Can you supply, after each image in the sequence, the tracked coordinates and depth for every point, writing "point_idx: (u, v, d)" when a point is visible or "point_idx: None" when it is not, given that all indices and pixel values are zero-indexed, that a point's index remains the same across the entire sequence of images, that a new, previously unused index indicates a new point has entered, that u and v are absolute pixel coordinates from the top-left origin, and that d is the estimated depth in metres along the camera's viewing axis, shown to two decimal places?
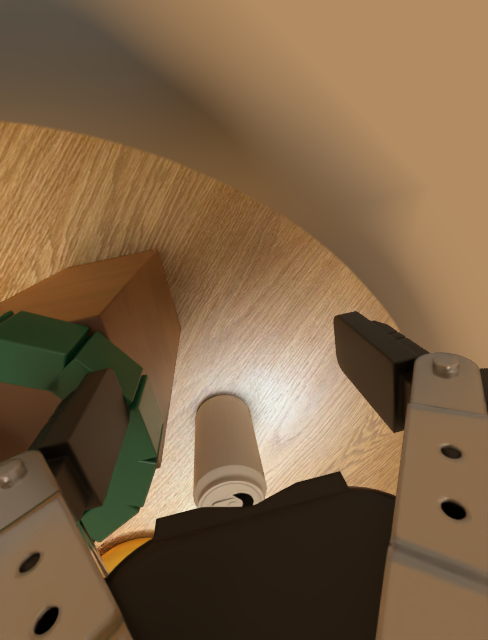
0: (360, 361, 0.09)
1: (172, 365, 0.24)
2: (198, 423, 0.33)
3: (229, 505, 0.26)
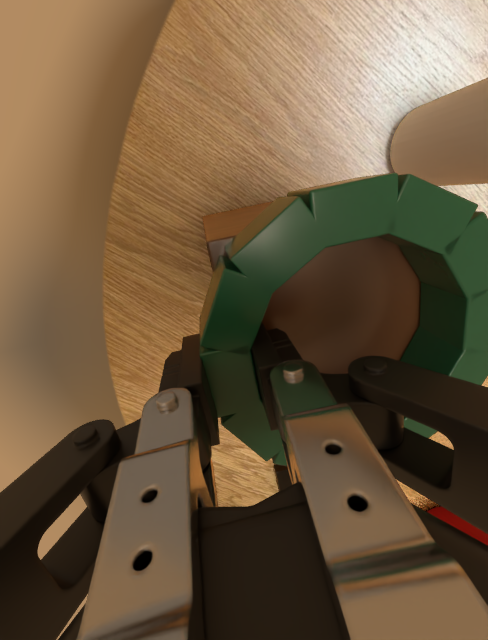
0: None
1: None
2: None
3: None
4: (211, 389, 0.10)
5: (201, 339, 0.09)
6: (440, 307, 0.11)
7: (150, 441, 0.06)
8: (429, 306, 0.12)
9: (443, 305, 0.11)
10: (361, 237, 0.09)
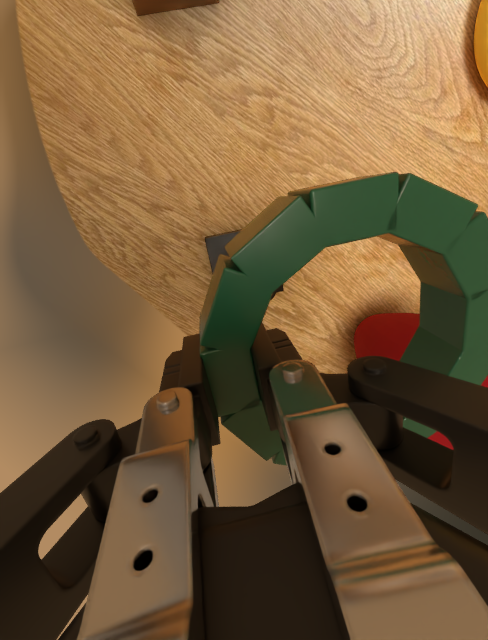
0: None
1: None
2: None
3: None
4: (211, 388, 0.10)
5: (201, 338, 0.09)
6: (440, 307, 0.11)
7: (151, 441, 0.06)
8: (429, 305, 0.12)
9: (443, 305, 0.11)
10: (361, 237, 0.09)
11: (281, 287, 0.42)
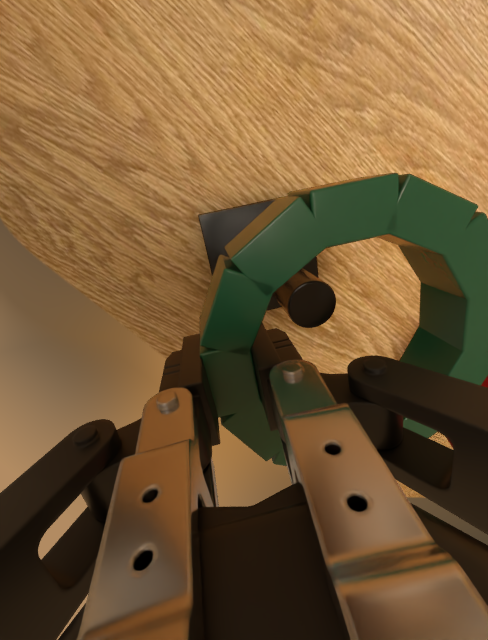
0: None
1: None
2: None
3: None
4: (211, 389, 0.10)
5: (201, 339, 0.09)
6: (440, 308, 0.11)
7: (151, 441, 0.06)
8: (429, 306, 0.12)
9: (442, 306, 0.11)
10: (361, 237, 0.09)
11: None
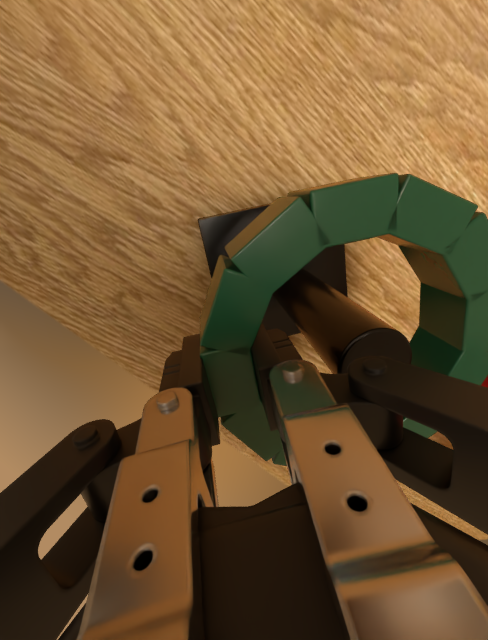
0: None
1: None
2: None
3: None
4: (211, 389, 0.10)
5: (201, 339, 0.09)
6: (439, 308, 0.11)
7: (151, 441, 0.06)
8: (429, 306, 0.12)
9: (443, 306, 0.11)
10: (361, 237, 0.09)
11: None
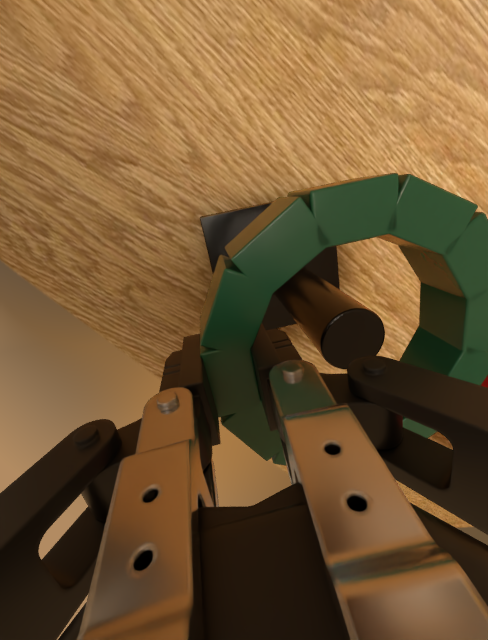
0: None
1: None
2: None
3: None
4: (211, 389, 0.10)
5: (201, 339, 0.09)
6: (439, 308, 0.11)
7: (151, 441, 0.06)
8: (430, 306, 0.12)
9: (442, 306, 0.11)
10: (361, 237, 0.09)
11: None
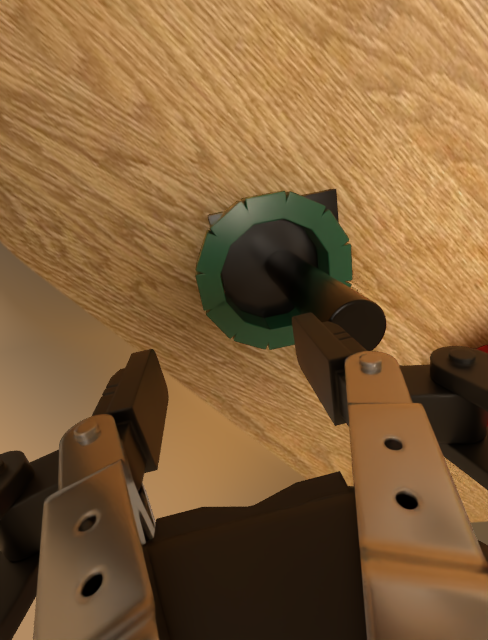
0: (310, 360, 0.10)
1: None
2: None
3: None
4: (201, 294, 0.20)
5: (196, 267, 0.20)
6: (322, 260, 0.22)
7: (75, 474, 0.06)
8: (320, 260, 0.22)
9: (323, 258, 0.21)
10: (270, 220, 0.19)
11: None
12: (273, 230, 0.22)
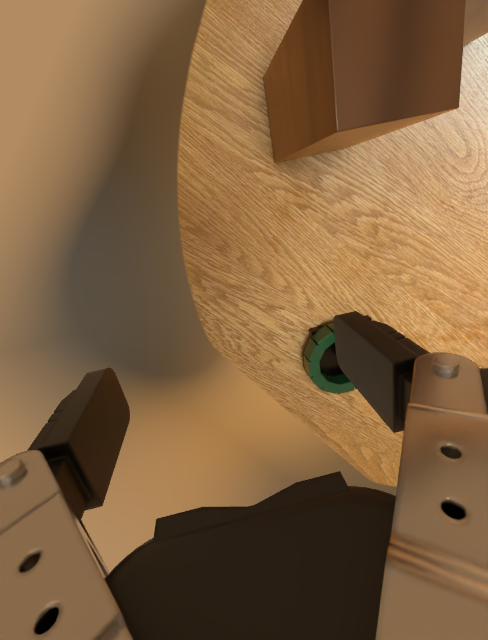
0: (360, 362, 0.09)
1: None
2: None
3: None
4: (309, 370, 0.43)
5: (309, 359, 0.43)
6: None
7: (1, 521, 0.05)
8: None
9: None
10: None
11: None
12: None
